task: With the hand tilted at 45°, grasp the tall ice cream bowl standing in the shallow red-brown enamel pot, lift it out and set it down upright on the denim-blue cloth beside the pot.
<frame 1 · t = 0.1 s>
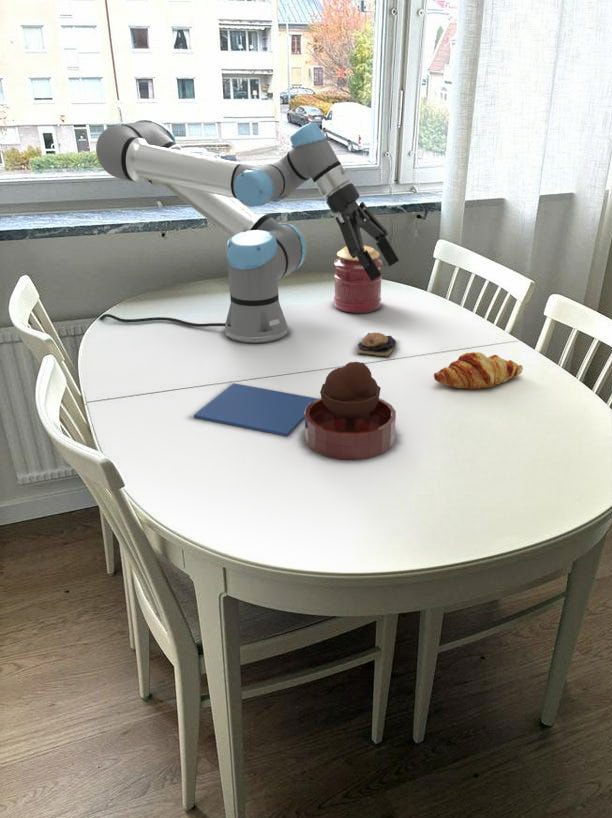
hand: (385, 270, 175), 15 cm above the table, tool tilted 35°, fingers open, 13 cm apart
open sandwich: (376, 348, 174), on the table
kitchen canister: (357, 306, 200), on the table
pot: (350, 437, 136), on the table
ice cream bowl: (350, 437, 136), resting on pot
croissant: (478, 383, 158), on the table
cloth: (258, 409, 145), on the table
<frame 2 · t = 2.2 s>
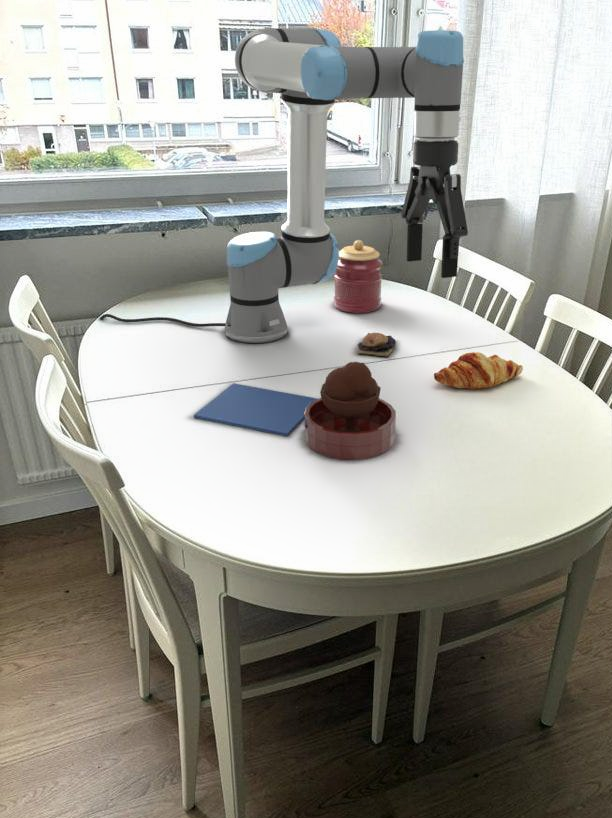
hand: (430, 268, 132), 28 cm above the table, tool pointing down, fingers open, 13 cm apart
nothing on the table moved.
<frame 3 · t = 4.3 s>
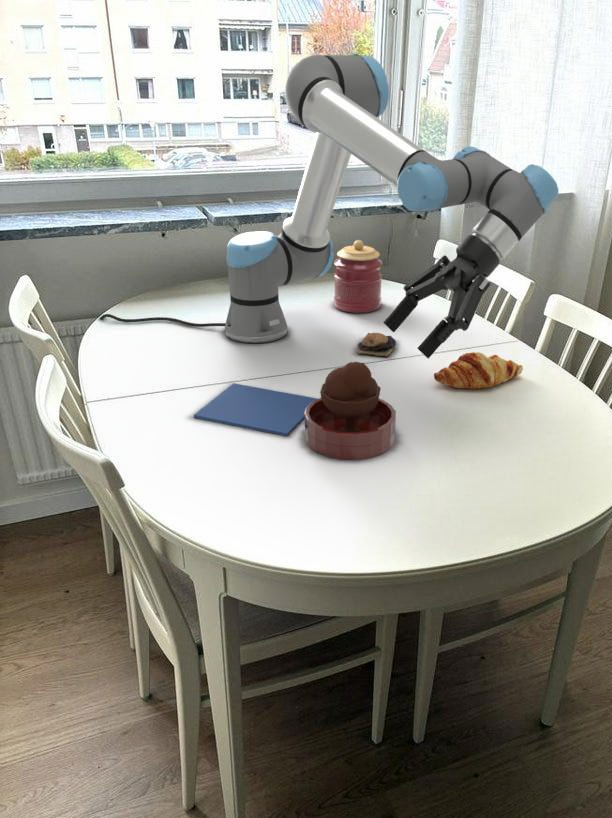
hand: (404, 340, 130), 18 cm above the table, tool tilted 45°, fingers open, 13 cm apart
nothing on the table moved.
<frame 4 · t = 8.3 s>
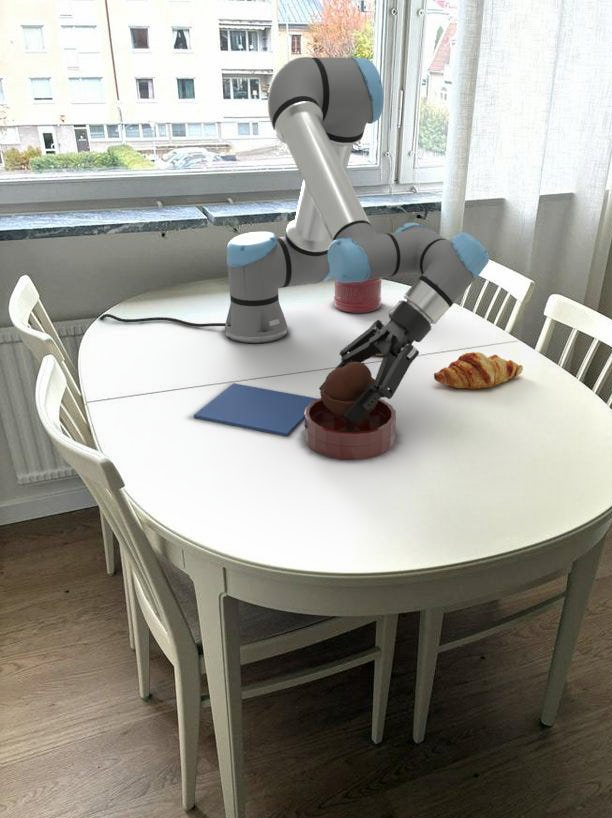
hand: (336, 406, 131), 7 cm above the table, tool tilted 45°, fingers closed on ice cream bowl, 11 cm apart
ice cream bowl: (350, 437, 136), resting on pot, touching gripper
everything else where it was.
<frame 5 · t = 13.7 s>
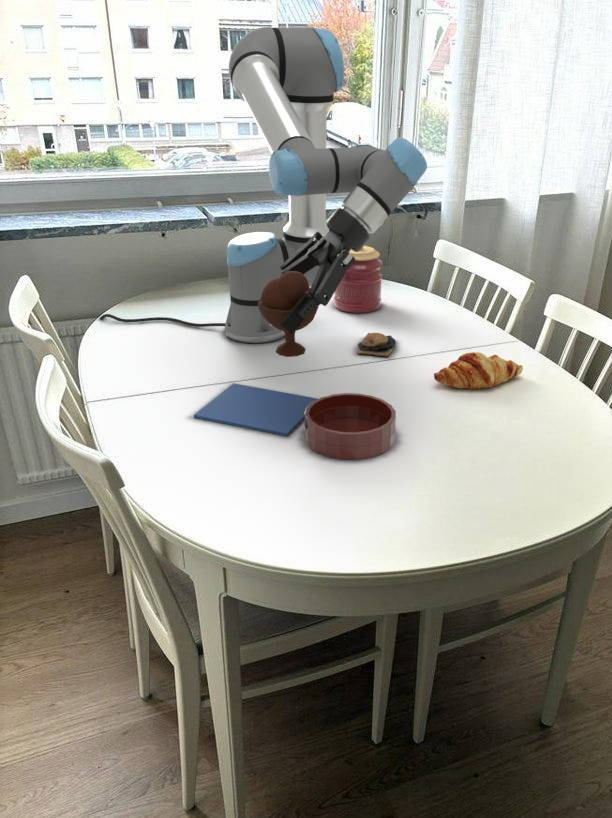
hand: (274, 317, 130), 21 cm above the table, tool tilted 45°, fingers closed on ice cream bowl, 11 cm apart
ice cream bowl: (290, 352, 134), point 14 cm above the table, touching gripper
everything else where it was.
when the fingers open (7 cm above the table, at t = 19.3 s): ice cream bowl stays where it is, resting on cloth.
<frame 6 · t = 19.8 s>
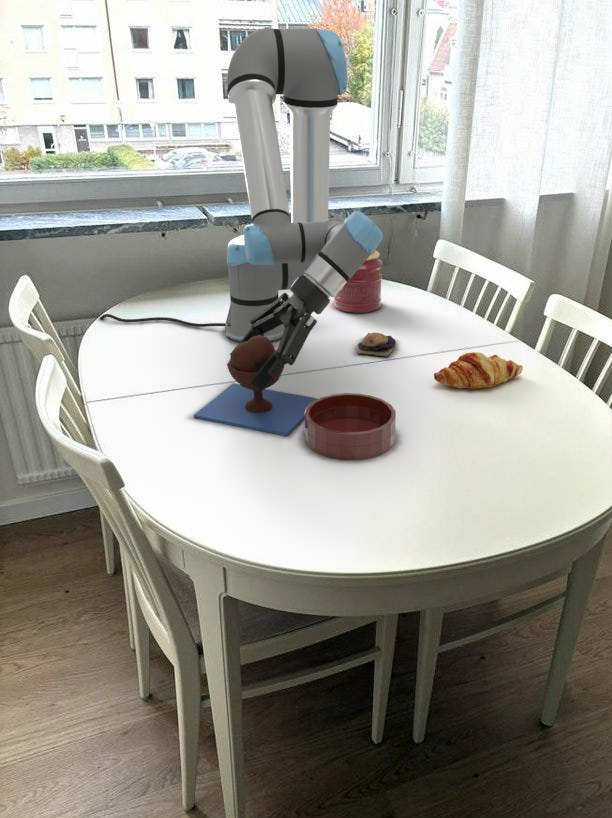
hand: (244, 372, 140), 8 cm above the table, tool tilted 45°, fingers open, 13 cm apart
ice cream bowl: (258, 407, 145), resting on cloth
everything else where it was.
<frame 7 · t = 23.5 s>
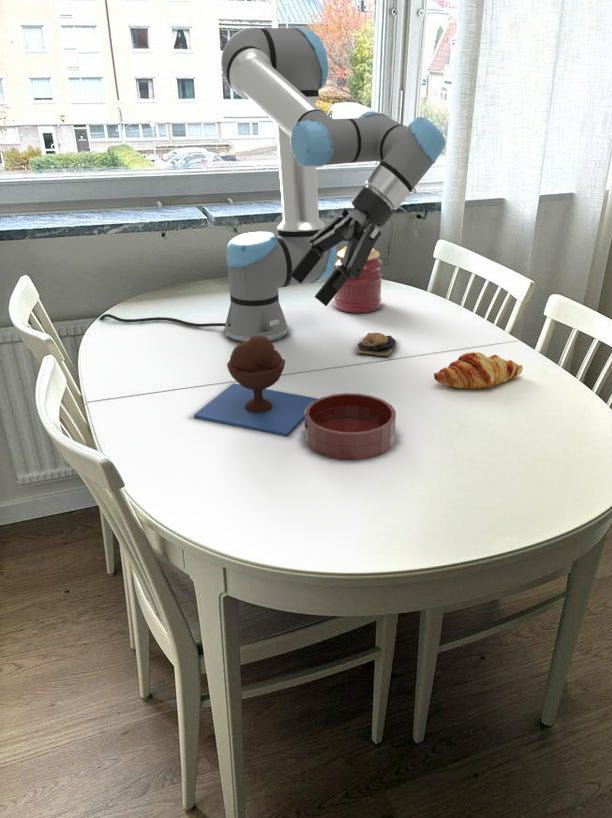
hand: (307, 290, 138), 23 cm above the table, tool tilted 40°, fingers open, 13 cm apart
nothing on the table moved.
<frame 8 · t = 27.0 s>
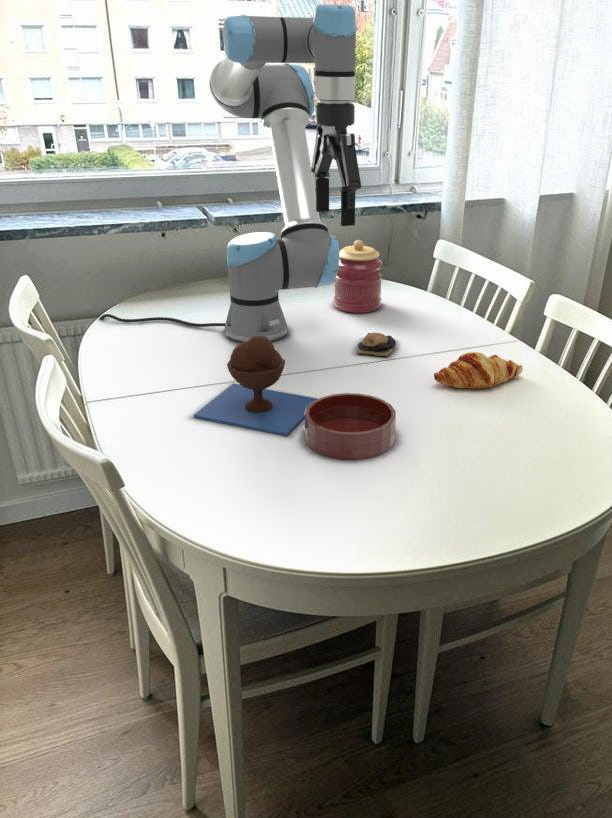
hand: (334, 218, 149), 32 cm above the table, tool pointing down, fingers open, 13 cm apart
nothing on the table moved.
at the end: ice cream bowl inside the target area on the cloth (0.0 cm from its centre), point 0.4 cm above the cloth's base; ice cream bowl tilted 0°; the gripper is holding nothing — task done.
